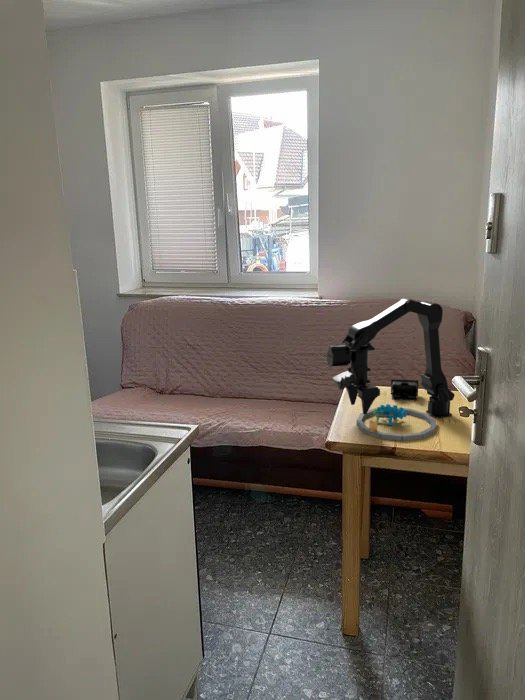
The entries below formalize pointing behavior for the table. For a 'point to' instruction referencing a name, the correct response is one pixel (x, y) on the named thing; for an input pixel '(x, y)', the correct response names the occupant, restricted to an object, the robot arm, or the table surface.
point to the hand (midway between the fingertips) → (358, 409)
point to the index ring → (399, 437)
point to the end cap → (404, 389)
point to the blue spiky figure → (389, 413)
